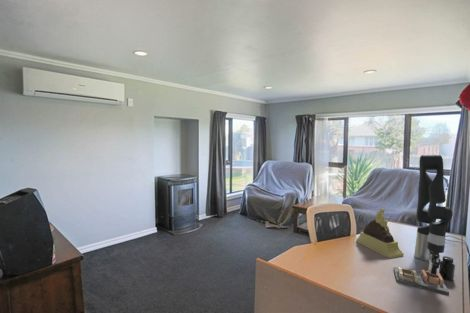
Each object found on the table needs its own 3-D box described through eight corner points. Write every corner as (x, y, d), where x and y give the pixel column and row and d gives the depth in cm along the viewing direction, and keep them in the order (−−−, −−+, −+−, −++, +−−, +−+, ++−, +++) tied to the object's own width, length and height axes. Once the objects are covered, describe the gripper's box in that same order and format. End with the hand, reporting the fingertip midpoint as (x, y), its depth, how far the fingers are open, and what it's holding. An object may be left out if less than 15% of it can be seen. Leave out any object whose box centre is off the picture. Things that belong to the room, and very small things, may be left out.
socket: (421, 274, 152) (421, 269, 151) (438, 278, 148) (439, 273, 148) (424, 281, 144) (424, 276, 144) (443, 285, 140) (443, 280, 140)
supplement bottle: (446, 275, 156) (449, 255, 155) (456, 281, 149) (459, 261, 148) (435, 274, 155) (437, 255, 154) (444, 281, 149) (447, 260, 148)
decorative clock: (403, 256, 179) (408, 213, 176) (389, 258, 174) (394, 214, 172) (368, 240, 205) (372, 202, 202) (356, 241, 200) (359, 203, 198)
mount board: (393, 269, 159) (394, 262, 159) (440, 280, 149) (441, 272, 149) (396, 281, 145) (397, 274, 144) (448, 295, 135) (450, 286, 134)
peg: (426, 275, 149) (428, 258, 148) (435, 277, 147) (437, 260, 146) (428, 278, 145) (430, 261, 144) (437, 281, 143) (439, 263, 142)
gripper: (425, 236, 152) (421, 264, 154) (430, 244, 139) (427, 275, 141) (441, 239, 149) (437, 268, 150) (448, 248, 136) (444, 279, 138)
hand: (432, 271), depth 146 cm, fingers closed on peg, 4 cm apart
